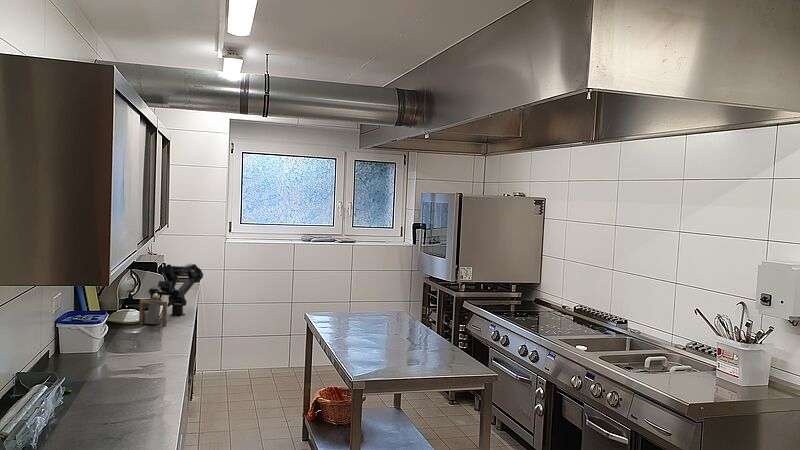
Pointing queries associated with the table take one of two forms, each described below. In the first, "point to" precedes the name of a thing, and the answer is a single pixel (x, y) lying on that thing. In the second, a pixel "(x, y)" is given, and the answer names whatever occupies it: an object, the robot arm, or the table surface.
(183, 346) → the table surface
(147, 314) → the door
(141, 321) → the door frame
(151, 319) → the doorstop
